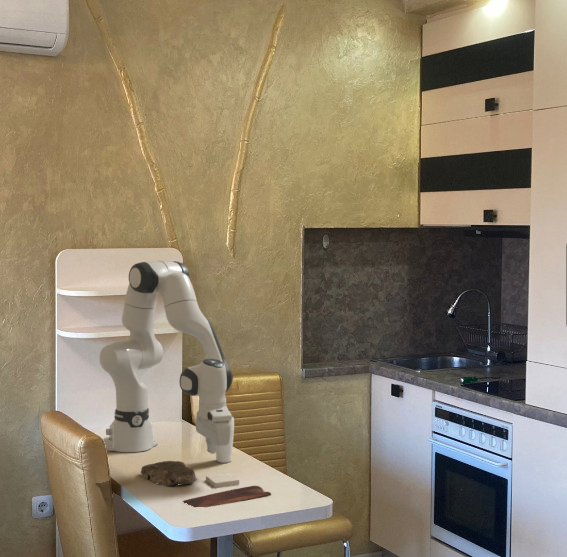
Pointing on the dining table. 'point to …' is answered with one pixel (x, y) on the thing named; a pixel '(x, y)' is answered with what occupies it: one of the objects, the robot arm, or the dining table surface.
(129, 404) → the robot arm
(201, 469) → the dining table surface
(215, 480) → the tile
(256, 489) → the wooden tablet
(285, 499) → the dining table surface
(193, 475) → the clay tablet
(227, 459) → the drinking glass
